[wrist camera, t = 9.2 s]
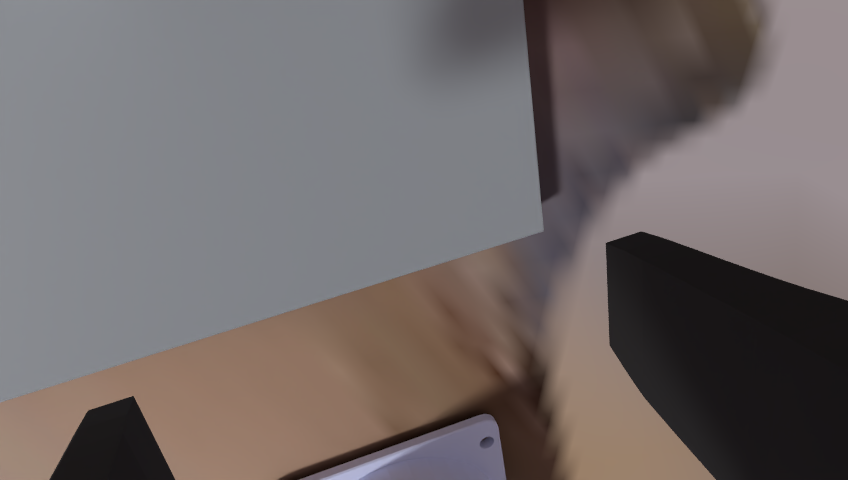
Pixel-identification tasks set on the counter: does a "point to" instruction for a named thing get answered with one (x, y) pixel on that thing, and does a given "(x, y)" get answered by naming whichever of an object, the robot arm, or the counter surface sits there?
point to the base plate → (243, 163)
